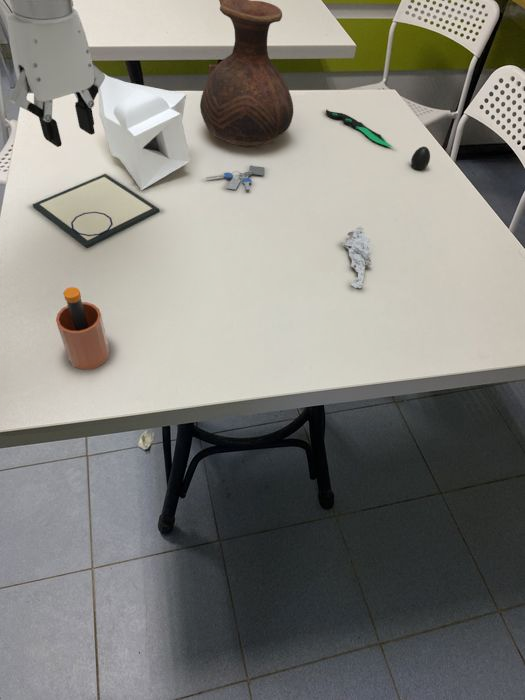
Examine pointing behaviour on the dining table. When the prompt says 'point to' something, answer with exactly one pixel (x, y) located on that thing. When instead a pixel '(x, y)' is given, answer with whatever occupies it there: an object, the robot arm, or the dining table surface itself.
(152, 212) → the drawing mat
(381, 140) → the knife
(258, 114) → the jug
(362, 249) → the paper
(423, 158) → the egg
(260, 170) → the key chain
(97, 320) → the pen cup
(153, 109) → the folded paper
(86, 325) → the marker
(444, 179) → the dining table surface
